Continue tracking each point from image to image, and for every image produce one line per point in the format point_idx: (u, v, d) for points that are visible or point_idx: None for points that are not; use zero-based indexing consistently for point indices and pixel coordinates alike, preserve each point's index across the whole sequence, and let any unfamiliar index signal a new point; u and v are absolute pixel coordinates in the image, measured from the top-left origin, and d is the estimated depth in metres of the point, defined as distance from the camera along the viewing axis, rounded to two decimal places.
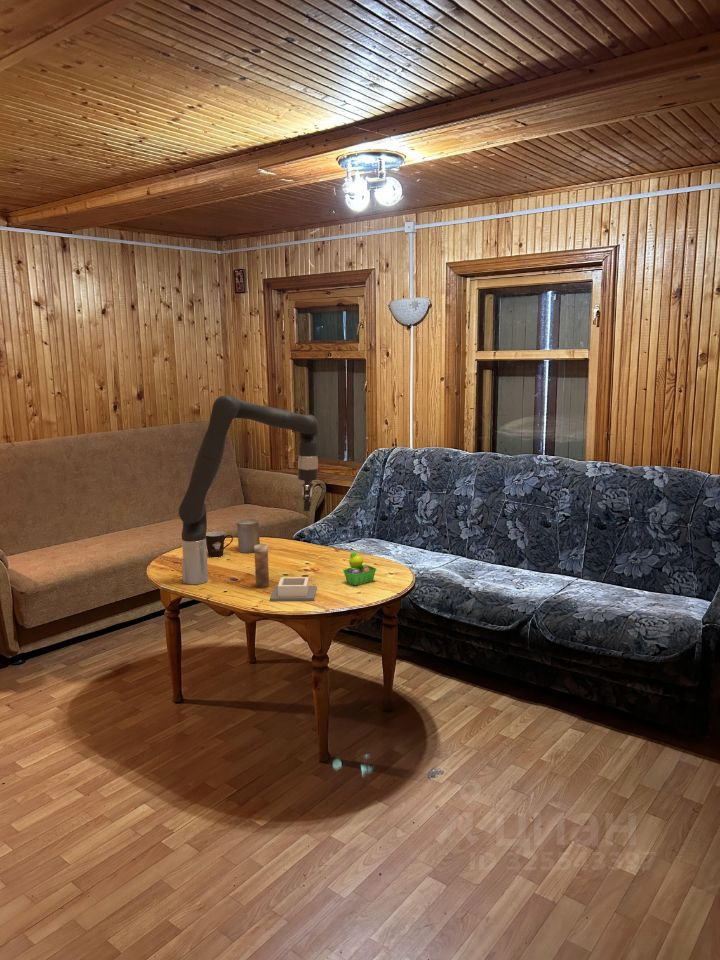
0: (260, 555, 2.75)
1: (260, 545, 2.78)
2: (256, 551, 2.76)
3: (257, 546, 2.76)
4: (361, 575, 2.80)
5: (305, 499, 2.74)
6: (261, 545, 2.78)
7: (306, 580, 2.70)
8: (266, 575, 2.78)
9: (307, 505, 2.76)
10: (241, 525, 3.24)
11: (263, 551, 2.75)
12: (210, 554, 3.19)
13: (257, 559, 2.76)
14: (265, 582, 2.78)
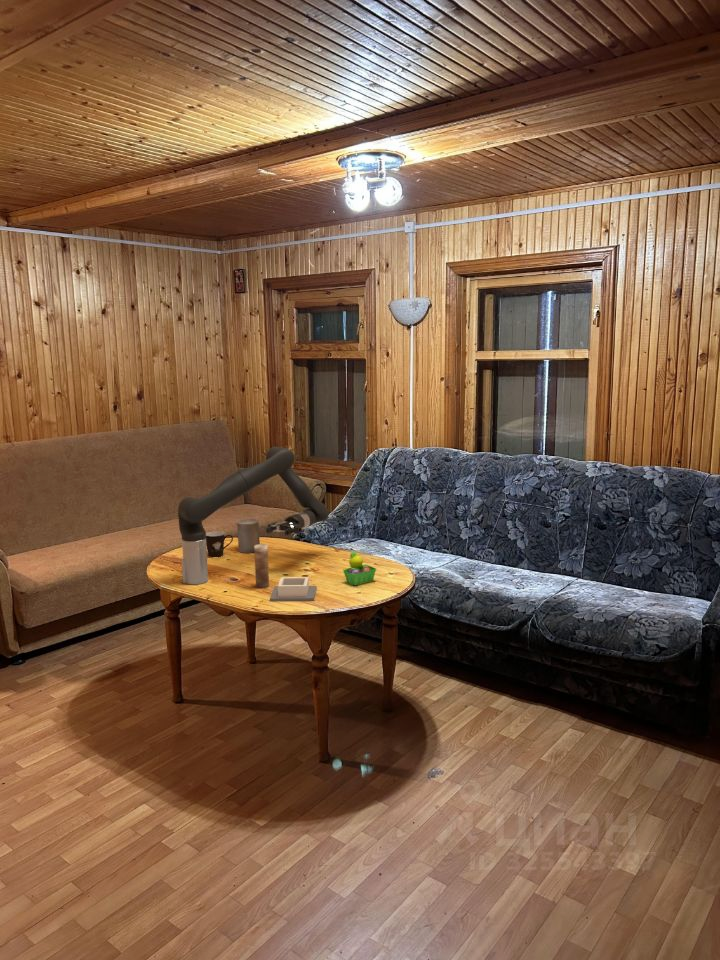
0: (260, 555, 2.75)
1: (260, 545, 2.78)
2: (256, 551, 2.76)
3: (257, 546, 2.76)
4: (361, 575, 2.80)
5: (298, 529, 2.88)
6: (261, 545, 2.78)
7: (306, 580, 2.70)
8: (266, 575, 2.78)
9: (291, 532, 2.87)
10: (241, 525, 3.24)
11: (263, 551, 2.75)
12: (210, 554, 3.19)
13: (257, 559, 2.76)
14: (265, 582, 2.78)
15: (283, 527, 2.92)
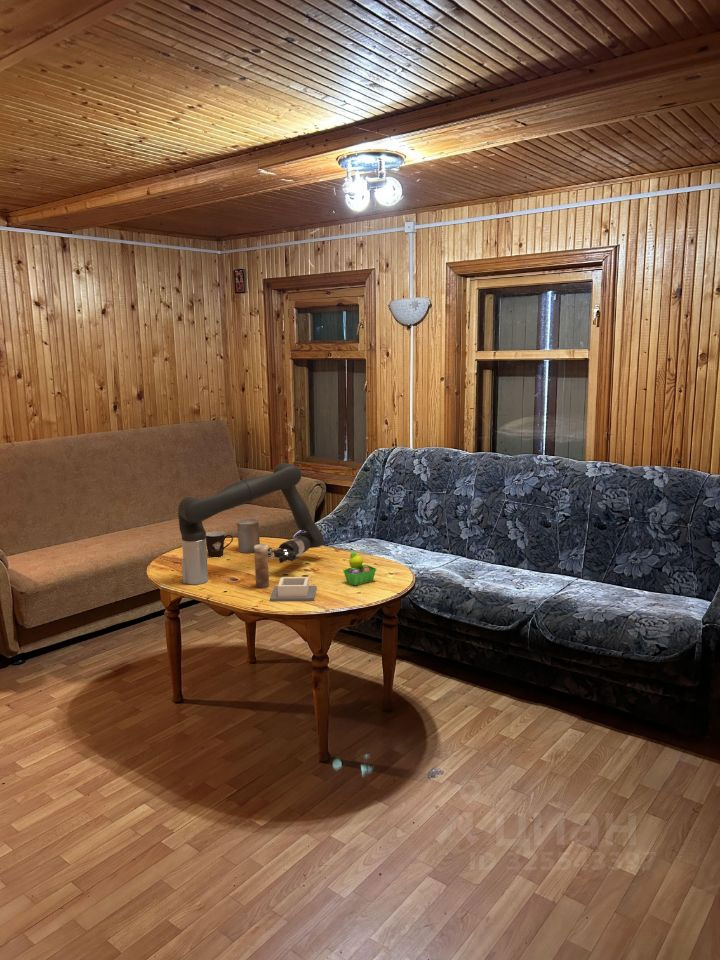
0: (260, 555, 2.75)
1: (260, 545, 2.78)
2: (256, 551, 2.76)
3: (257, 546, 2.76)
4: (361, 575, 2.80)
5: (292, 556, 2.86)
6: (261, 545, 2.78)
7: (306, 580, 2.70)
8: (266, 575, 2.78)
9: (285, 559, 2.84)
10: (241, 525, 3.24)
11: (263, 551, 2.75)
12: (210, 554, 3.19)
13: (257, 559, 2.76)
14: (265, 582, 2.78)
15: (277, 554, 2.90)
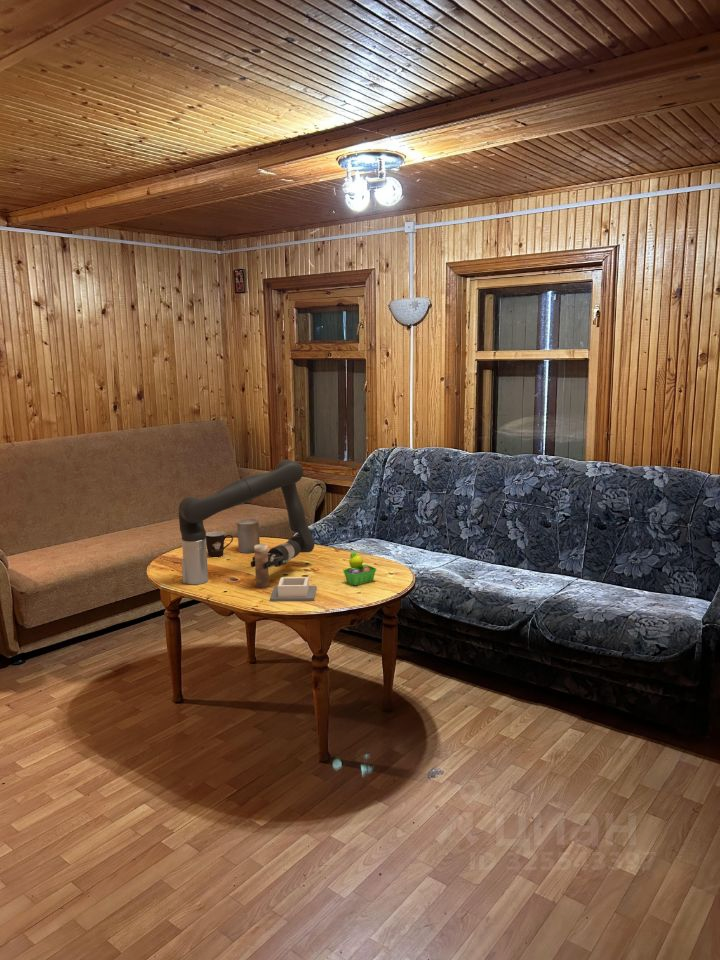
0: (260, 555, 2.75)
1: (260, 545, 2.78)
2: (256, 551, 2.76)
3: (257, 546, 2.76)
4: (361, 575, 2.80)
5: (277, 562, 2.78)
6: (261, 545, 2.78)
7: (306, 580, 2.70)
8: (266, 575, 2.78)
9: (269, 565, 2.77)
10: (241, 525, 3.24)
11: (263, 551, 2.75)
12: (210, 554, 3.19)
13: (257, 559, 2.76)
14: (265, 582, 2.78)
15: (268, 559, 2.82)
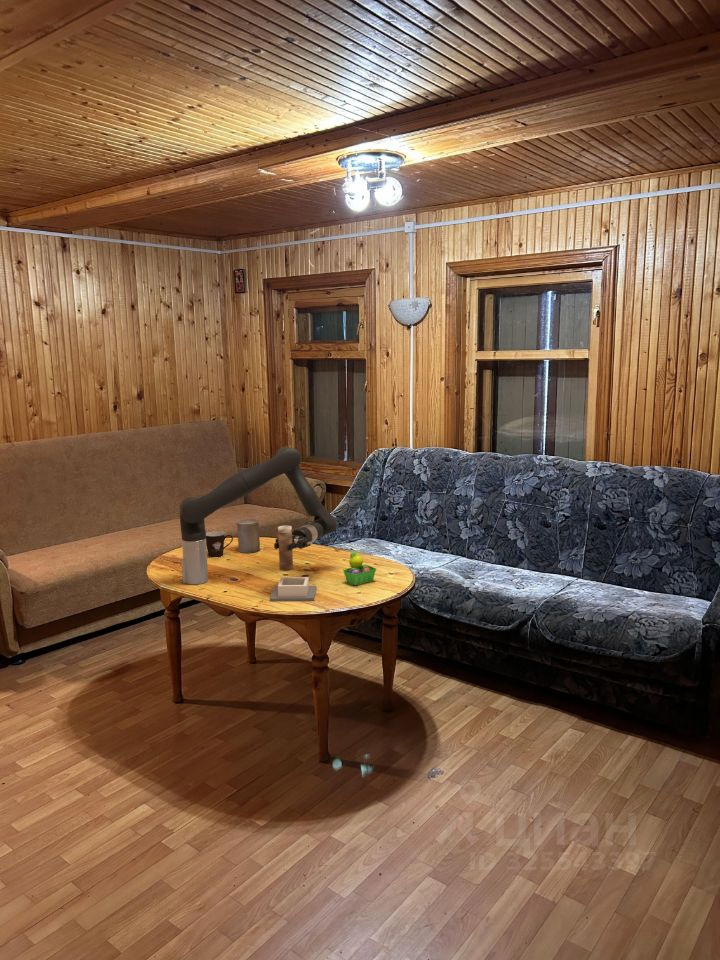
0: (284, 536, 2.67)
1: (284, 526, 2.70)
2: (280, 532, 2.67)
3: (281, 527, 2.68)
4: (361, 575, 2.80)
5: (301, 544, 2.69)
6: (285, 526, 2.69)
7: (306, 580, 2.70)
8: (290, 557, 2.69)
9: (294, 547, 2.68)
10: (241, 525, 3.24)
11: (287, 532, 2.67)
12: (210, 554, 3.19)
13: (281, 540, 2.67)
14: (289, 564, 2.69)
15: (292, 541, 2.74)
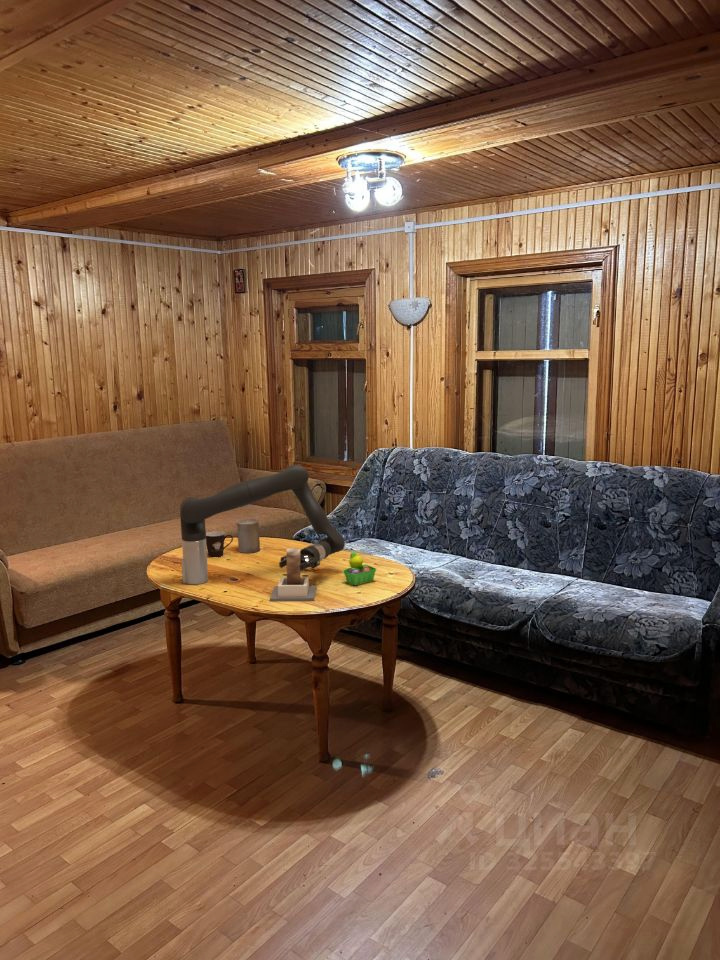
0: (292, 559, 2.66)
1: (292, 548, 2.69)
2: (288, 554, 2.66)
3: (289, 550, 2.67)
4: (361, 575, 2.80)
5: (313, 563, 2.68)
6: (293, 549, 2.68)
7: (306, 580, 2.70)
8: (298, 580, 2.68)
9: (306, 567, 2.66)
10: (241, 525, 3.24)
11: (296, 555, 2.66)
12: (210, 554, 3.19)
13: (289, 563, 2.66)
14: None
15: None
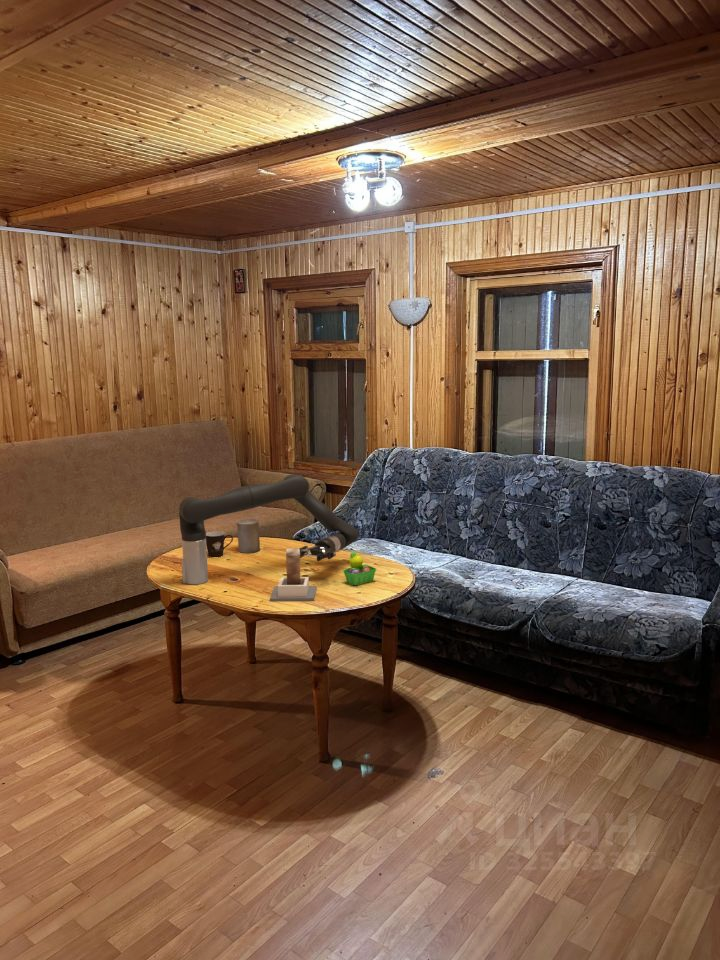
0: (292, 559, 2.65)
1: (292, 549, 2.68)
2: (288, 555, 2.66)
3: (289, 550, 2.67)
4: (361, 575, 2.80)
5: (330, 554, 2.79)
6: (293, 549, 2.68)
7: (306, 580, 2.70)
8: (298, 580, 2.68)
9: (323, 557, 2.78)
10: (241, 525, 3.24)
11: (295, 555, 2.66)
12: (210, 554, 3.19)
13: (289, 563, 2.66)
14: None
15: (314, 552, 2.84)
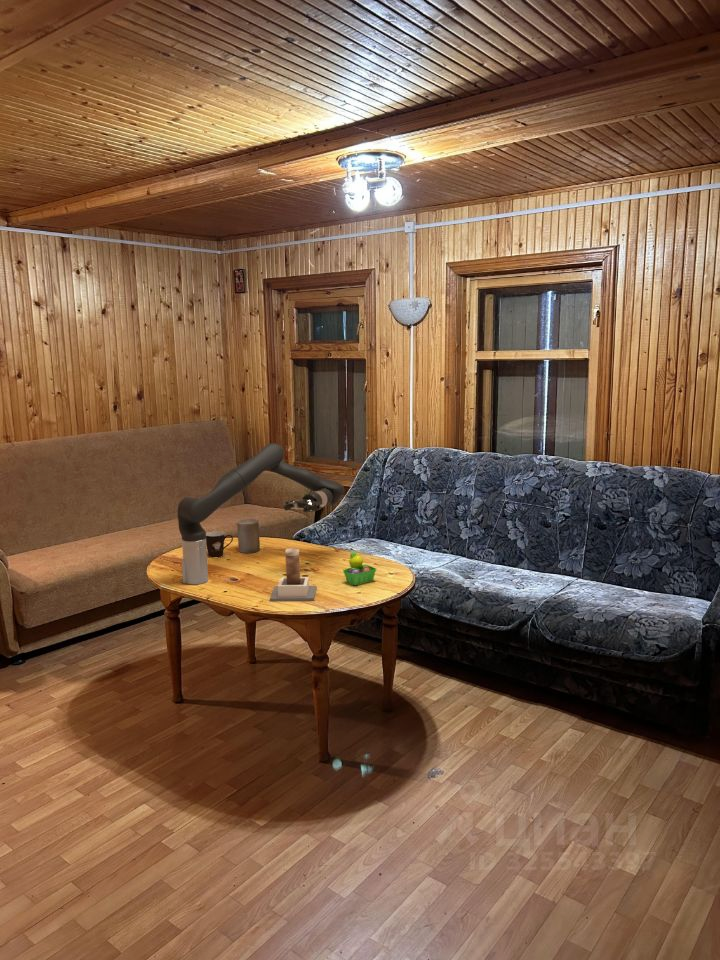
0: (291, 559, 2.65)
1: (291, 549, 2.68)
2: (287, 555, 2.65)
3: (288, 550, 2.66)
4: (361, 575, 2.80)
5: (316, 506, 2.87)
6: (292, 549, 2.68)
7: (306, 580, 2.70)
8: (298, 580, 2.68)
9: (309, 509, 2.85)
10: (241, 525, 3.24)
11: (295, 555, 2.65)
12: (210, 554, 3.19)
13: (288, 563, 2.66)
14: None
15: (301, 504, 2.91)
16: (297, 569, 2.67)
